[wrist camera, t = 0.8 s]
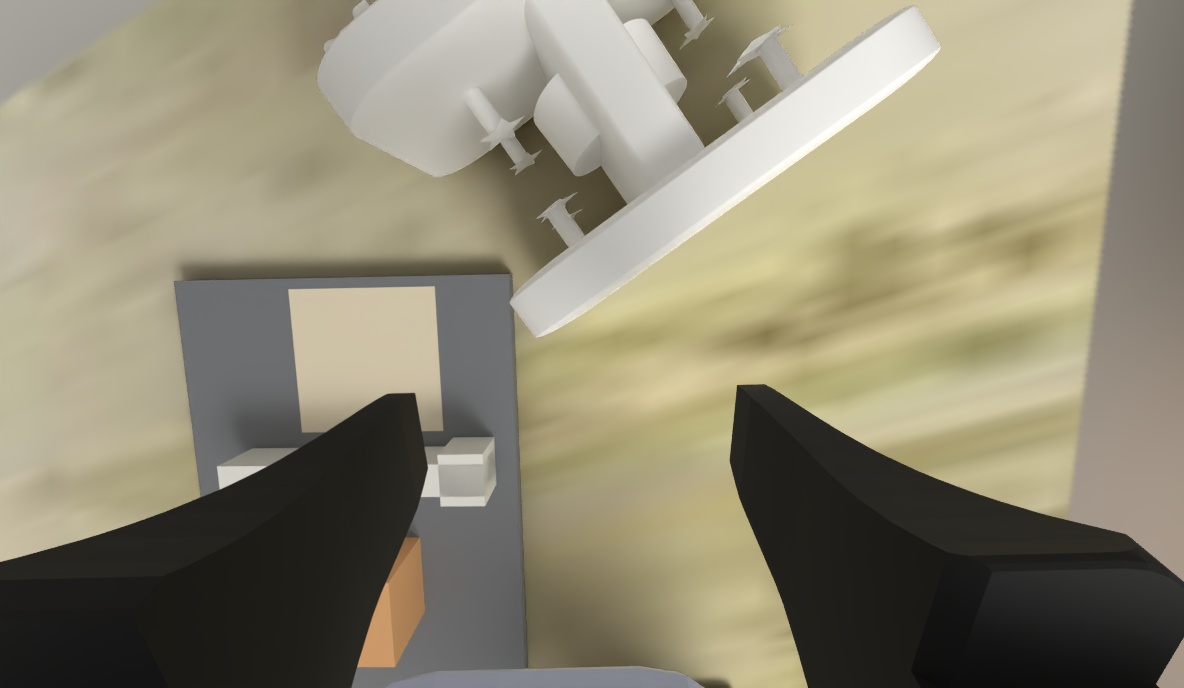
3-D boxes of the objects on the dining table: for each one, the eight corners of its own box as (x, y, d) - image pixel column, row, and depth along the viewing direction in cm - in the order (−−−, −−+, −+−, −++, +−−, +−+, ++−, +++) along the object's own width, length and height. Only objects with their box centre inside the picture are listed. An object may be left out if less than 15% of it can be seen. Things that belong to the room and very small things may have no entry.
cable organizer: (551, 326, 27) (508, 370, 16) (419, 145, 26) (269, 49, 15) (812, 139, 26) (979, 34, 14) (683, -62, 25) (747, -353, 13)
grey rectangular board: (528, 685, 30) (525, 699, 29) (238, 683, 30) (225, 698, 29) (512, 273, 27) (508, 274, 26) (189, 280, 27) (173, 281, 26)
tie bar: (496, 484, 27) (485, 506, 25) (256, 485, 27) (222, 507, 25) (494, 436, 27) (482, 454, 24) (251, 439, 27) (215, 456, 25)
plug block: (425, 611, 28) (395, 667, 24) (347, 611, 28) (305, 666, 24) (420, 537, 28) (388, 582, 24) (341, 537, 28) (297, 582, 24)
